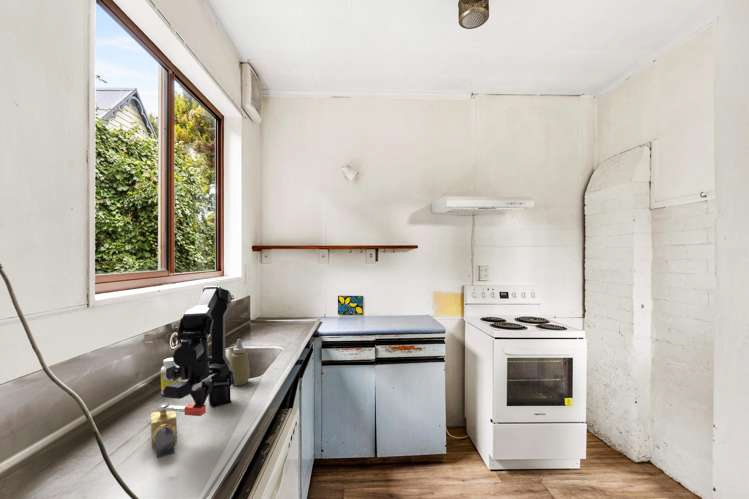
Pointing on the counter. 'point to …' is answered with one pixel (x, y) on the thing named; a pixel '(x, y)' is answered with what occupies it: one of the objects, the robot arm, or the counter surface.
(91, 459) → the counter surface
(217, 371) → the robot arm
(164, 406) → the valve lever
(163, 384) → the supplement bottle
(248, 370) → the squeeze bottle
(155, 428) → the valve body
